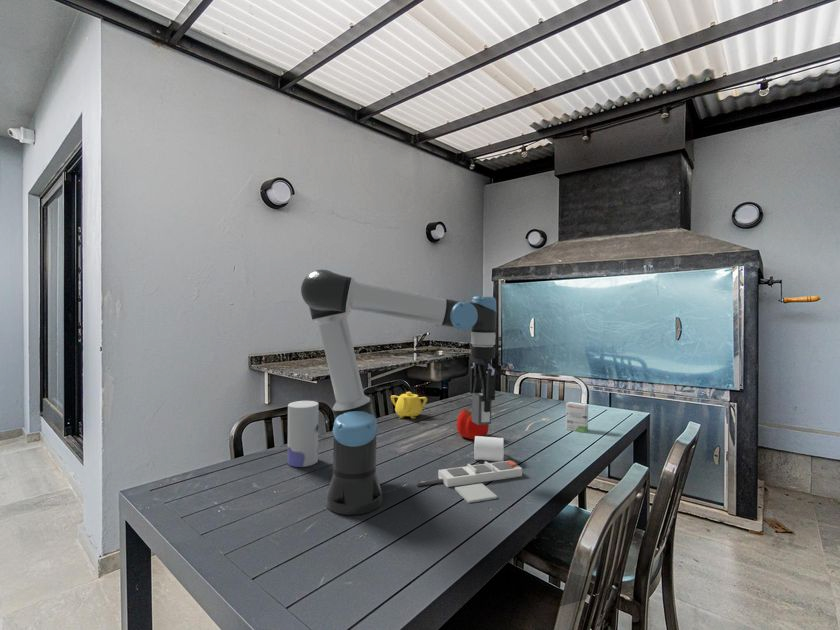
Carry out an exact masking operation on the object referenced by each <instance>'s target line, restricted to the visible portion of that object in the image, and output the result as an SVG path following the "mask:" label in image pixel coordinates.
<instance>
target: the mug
mask: <svg viewBox="0 0 840 630" xmlns="http://www.w3.org/2000/svg"><path fill="white" fill-rule="evenodd" d="M473 446H474V449H473V453H474V454H473V458H474V460H475V461H487V462H503V461H504V453H505V451H504V449H505V448H504V447H505V439H504V437H495V436H484V437H483V436H475V440H474V444H473Z"/></svg>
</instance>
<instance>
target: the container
mask: <svg viewBox="0 0 840 630" xmlns="http://www.w3.org/2000/svg"><path fill="white" fill-rule="evenodd" d="M287 404H288V405H287V464H288V465H289V466H291V467H295V468H304V467H310V466H314V465H315V464H316V463H318V461H319V402H318V401H315V400H298V401H293V402H290V403H287Z"/></svg>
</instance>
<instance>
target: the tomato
mask: <svg viewBox="0 0 840 630" xmlns="http://www.w3.org/2000/svg"><path fill="white" fill-rule="evenodd" d="M489 425H490V424H485V425H477V424H476V423H474V422H472V411H470V410H468V409H463V410H461V411H460V412H459V414H458V415H457V419H456V430H457V433H458V434H459V435H460V436H461V437H463V438H466V439H470V440H474V441H475V436H483V437H487V435H488V433H489Z"/></svg>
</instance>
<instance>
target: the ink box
mask: <svg viewBox="0 0 840 630" xmlns="http://www.w3.org/2000/svg"><path fill="white" fill-rule="evenodd" d="M565 430H567V431H573V432H579V433H587V432H588V431H589V404H588V403H583V402H576V401H575V402H574V401H568V402H566V404H565Z"/></svg>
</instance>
